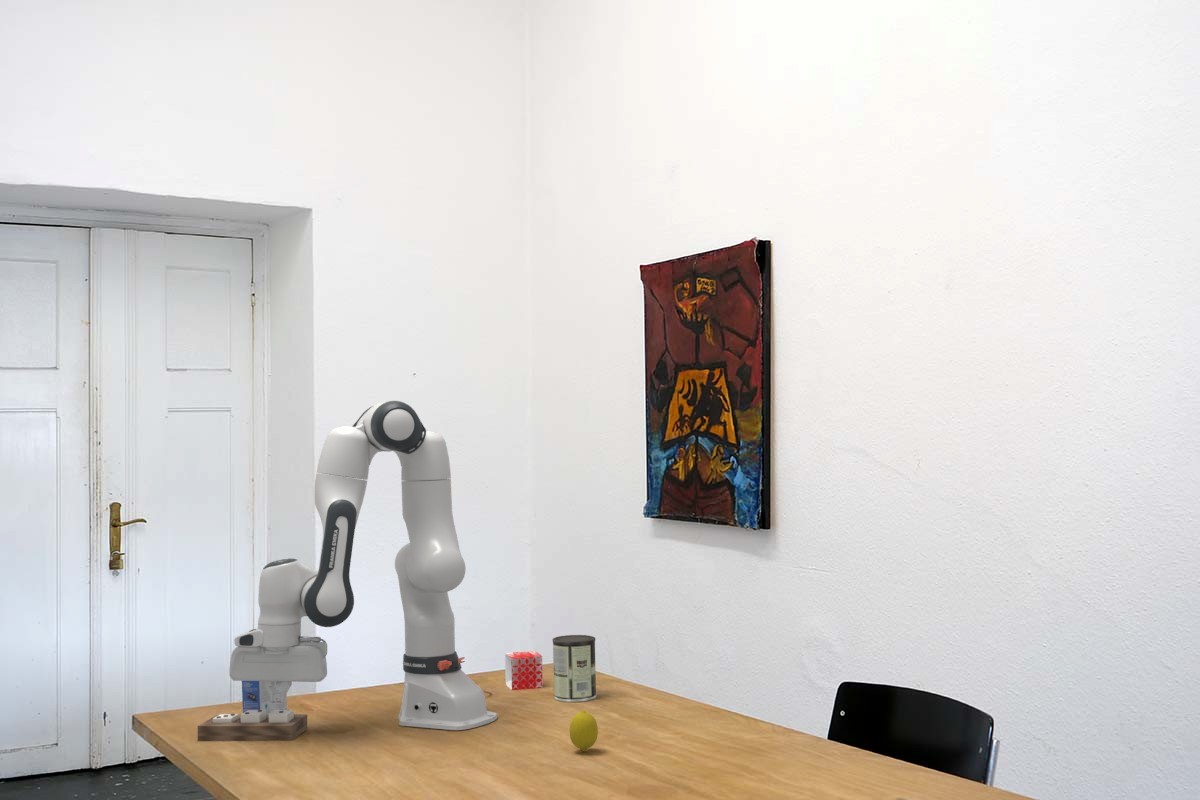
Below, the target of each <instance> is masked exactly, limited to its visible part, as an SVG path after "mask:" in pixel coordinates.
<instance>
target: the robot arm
mask: <svg viewBox="0 0 1200 800" xmlns="http://www.w3.org/2000/svg"><path fill="white" fill-rule="evenodd" d="M380 452H387V453H388V452H394V453H395V454H396V456H397V457H398V459H399V463H400V467H401V477H400V478H401V506H402V510H401V511H402V512H401V513H402V518H403V520H404V523H405V526H406V529H407V536H408V540H409V542H408V543H407V544H405V545H403V546H402V547H401V548H400V549H399V550H398V552H397V553H396V555H395V559H394V569H395V572H396V574H397V578H398V585H399V586H398V587H399V593H400V599H401V605H402V609H403V618H404V646H405V647H404V654H403V656H402V658H403V659H402V670H403V671H404V681H403V690H402V699H401V704H400V705H401V706H400V709H399V710H400V711H399V713H398V716H397V719H398V721H399V722H398V724H399V725H398V726H400V727H405V726H406V727H413V728H414V727H415V728H426V729H438V730H447V731H464V730H468V729H474V728H477V727H481V726H485V725H488V724H490V723H492V722H494V721H496V720H497V719H498V713H497V712H493V711H490V710H487V701H486V696H485V692H484V691H483V689H482V688H481V687H480V686H478V685H477V684H476V683H475V682H474V681H473V679H471V678H470V677H469V676H468V675H467V674H466V673H465V672H464V671H463V670H462V663H465V662H466V661H465V660H464V659H465V656H464V657H459V656H458V653H457V651H456V649H455V648H456V640H455V639H456V637H455V635H456V634H455V625H456V624H455V615H454V612H453V610H452V606H451V603H450V599H449V593H448V592H450V591H453V590H455V589H456V588H457V587H459V586H460V584H461V583H462V582H463V580H464V578H465V575H466V563H465V560H464V558H463V555H462V554H461V549H460V545H459V541H458V536H457V535H458V534H457V531H456V526H455V522H454V516H453V504H452V503H453V500H452V479H451V478H452V477H451V476H452V475H451V463H450V457H449V451H448V448H447V443H446V441H445V438H444V436H442V435H441V434H440V433H438V432H436V431H432V430H427V429H426V427H425V426H424V424H423V422H422V421H421V418H420V417H419V415H418V413H416V410H415V409H414V408H413V407H412V406H410V405H409V404H408V403H405V402H403V401H401V400H387V401H381V402H378V403H376V404H375V405H372V406H369V408H367V409H366V410H365V411H364V412H363V413H362V414H361V415H360V416H359V418H357V420H356V421H355V423H354V424H353V425H352V426H351V425H343V426H342V425H341V426H338V427H335V428H334V427H333V429H332V430H330V431H329V432H328V433H327V435H326V438H325V440H324V443H323V447H322V449H321V452H320V455H319V459H318V464H317V467H316V468H317V469H316V473H315V474H316V475H315V479H314V480H315V481H314V505H315V509H316V510H317V512H318V515H319V517H320V521H321V525H322V541H321V542H322V543H321V550H320V557H319V565H318V570H317V569H314V568H312V567H310V566H308V565H306V564H304V563H302V562H301V561H300V560H298V559H296V558H284V559H279V560H278V559H277V560H273V561H271V562H269V563H267V564H266V565H265V566H264V567H263V568H262V569H261V571H260V572H261V573H260V577H259V585H258V600H257V601H258V602H257V603H258V606H259V617H258V618H257V619H258V620H257V628H253V629H250V630H249V631H246V632H244V633H241V634H238V635H237V636H235V638H234V645H235V646H236V647H235V648H234V649H233V650H232V651H231V655H230V662H229V668H228V669H229V670H228V671H229V672H228V673H229V674H228V675H229V677H230V679H231V680H232V681H235V682H242V681H265V687H266V689H267V691H268V693H269V694H270V703H284V702H286V693H288V691H290V688H291V687H292V682H297V683H299V682H303V683H306V682H307V683H308V682H310V683H311V682H313V683H317V682H318V683H319V682H322V681H324V679H325V678H327V675H328V663H327V654H328V643H327V641H326V640H325V639H324V638H322V637H320V636H301V634H302V632H301V631H302V618H303V617H307V618H308V619H309V620H310V621H311V623H313V624H315V625H317V626H320V627H321V628H322V627H324V628H333V627H336V626H339V625H340V624H342V623H344V622H345V621H346V620H347V619H348V618H349V617H350V615H351V614H352V611H353V609H354V604H355V596H354V591H353V588H352V585H351V579H350V572H351V571H350V568H351V562H352V561H351V560H352V556H353V555H352V554H353V545H354V538H355V533H356V532H355V530H356V526H357V523H358V520H359V515H360V512H361V509H362V506H363V502H364V499H365V495H366V490H367V487H368V486H367V485H368V479H369V472H370V471H369V470H370V465H371V463H372V461H373V458H374V457H375V456H376V454H377V453H380ZM275 681H282V686H283V687H284V686H285V687H284V689H283V691H282V693H276V692H275V690H274V688H273V686H272V685H274V684H275Z"/></svg>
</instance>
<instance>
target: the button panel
mask: <svg viewBox="0 0 1200 800" xmlns="http://www.w3.org/2000/svg"><path fill="white" fill-rule="evenodd" d="M218 715H219V714H216V715H214V716H212V717H210V718H209V719H207V720H206V721H204V722H202V723H201V724H199V725H197V741H198V742H201V741H202V742H203V741H204V742H206V741H207V742H209V741H210V742H211V741H212V742H213V741H214V742H215V741H216V742H217V741H218V742H219V741H220V742H221V741H223V742H226V741H228V742H231V741H238V742H239V741H240V742H243V741H251V742H252V741H293V740H295V739H296V738H297V737H298V736H300V735H301V734H302V733H304V732H305V731H306V730H307V729H308V713H307V714H304V713H303V714H301V713H300V714H295V713H294V719H293V720H291V721H290V722H288V723H269V715H266V719H265V720H264V721H262V722H261V723H241V714H239V719H238V720H236V721H234V722H233V723H213V718H215V717H216V716H218Z"/></svg>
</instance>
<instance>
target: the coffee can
mask: <svg viewBox="0 0 1200 800" xmlns="http://www.w3.org/2000/svg"><path fill="white" fill-rule="evenodd" d="M551 641H552V647H553V648H552V652H553V653H552V654H553V657H552V658H553V699H554V700H556V701H559V702H565V703H581V702H589V701H593V700H595V699H597V682H596V681H597V680H596V671H597V670H596V637H595V636H593V635H586V634H569V635H567V634H566V635H559V636H556V637H553V638H552V640H551Z"/></svg>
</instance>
